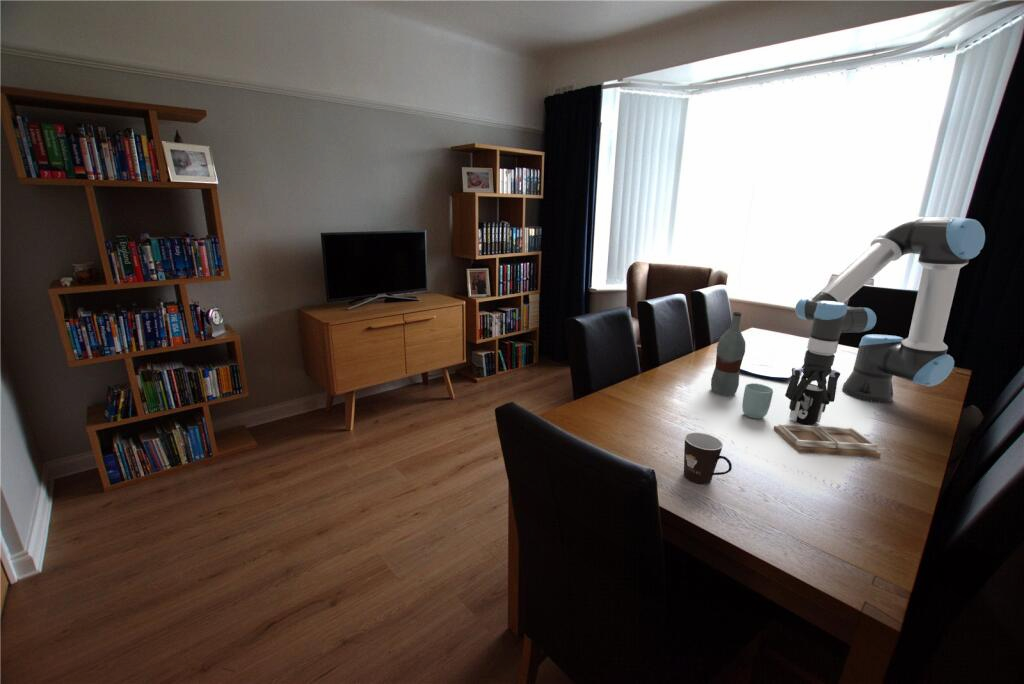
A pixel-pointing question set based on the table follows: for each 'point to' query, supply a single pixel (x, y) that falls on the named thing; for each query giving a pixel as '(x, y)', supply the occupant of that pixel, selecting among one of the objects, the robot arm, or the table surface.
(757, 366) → the plate
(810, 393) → the beverage can
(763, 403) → the cup
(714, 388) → the bottle
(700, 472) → the coffee mug
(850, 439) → the divided tray
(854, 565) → the table surface
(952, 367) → the robot arm
